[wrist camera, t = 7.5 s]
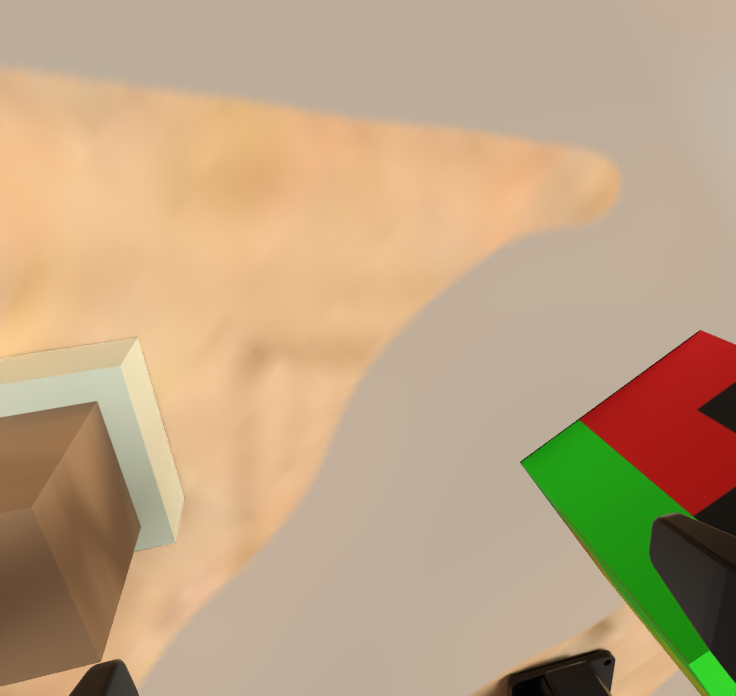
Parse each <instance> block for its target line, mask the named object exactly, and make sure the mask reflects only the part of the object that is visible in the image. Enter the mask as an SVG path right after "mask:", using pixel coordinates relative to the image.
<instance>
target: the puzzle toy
mask: <svg viewBox="0 0 736 696" xmlns="http://www.w3.org/2000/svg"><path fill="white" fill-rule="evenodd" d="M520 463H521V464H522V466H523V467H524V468H525V470H526V471H527V473H528V474H529V475H530V477H531V478H532V479H533V481H534V482H535V483H536V485H537V486H538V487H539V489H540V490H541V491H542V493H543V494H544V495H545V497H546V498H547V499H548V501H549V502H550V503H551V505H552V506H553V507H554V509H555V510H556V511H557V513H558V514H559V516H560V517H561V518H562V520H563V521H564V522H565V523H566V525H567V526H568V527H569V529H570V530H571V532H572V533H573V534H574V536H575V537H576V538H577V540H578V541H579V542H580V544H581V545H582V546H583V548H584V549H585V550H586V552H587V553H588V555H589V556H590V557H591V559H592V560H593V561H594V563H595V564H596V565H597V566H598V568H599V569H600V571H601V572H602V573H603V575H604V576H605V577H606V578H607V580H608V581H609V582H610V583H611V584H612V586H613V587H614V588H615V589H616V591H617V592H618V593H619V594H620V596H621V597H622V598H623V599H624V601H625V602H626V603H627V604H628V605H629V607H630V608H631V609H632V610H633V612H634V613H635V614H636V615H637V617H638V618H639V619H640V620H641V621H642V623H643V624H644V625H645V626H646V628H647V629H648V630H649V631H650V633H651V634H652V635H653V636H654V638H655V639H656V640H657V641H658V642H659V644H660V645H661V646H662V647H663V649H664V650H665V651H666V652H667V654H668V655H669V656H670V657H671V658H672V660H673V661H674V662H675V663H676V665H677V666H678V667H679V668H680V670H681V671H682V672H683V673H684V675H685V676H686V677H687V678H688V679H689V681H690V682H691V683H692V684H693V685H694V687H695V688H696V689H697V691H698V692H699V693H700V694H701V695H702V696H736V684H735V682H734V681H733V680H732V679H731V677H730V676H729V675H728V674H727V672H726V671H725V670H724V669H723V667H722V666H721V665H720V663H719V662H718V661H717V660H716V658H715V657H714V656H713V654H712V653H711V652H710V650H709V649H708V647H707V646H706V645H705V643H704V642H703V640H702V639H701V638H700V636H699V635H698V633H697V632H696V630H695V629H694V627H693V626H692V624H691V622H690V621H689V619H688V618H687V616H686V615H685V613H684V612H683V610H682V609H681V607H680V606H679V604H678V603H677V601H676V600H675V598H674V597H673V595H672V594H671V592H670V591H669V589H668V588H667V586H666V585H665V583H664V582H663V580H662V579H661V577H660V576H659V574H658V573H657V571H656V570H655V568H654V567H653V565H652V563H651V560H650V557H649V545H650V537H651V529H652V523H653V520H654V519H655V518H656V517H659V516H663V515H666V514H670V513H680V514H683V515H686V516H688V517H690V518H693V519H695V520H697V521H700V522H702V523H705V524H707V525H709V526H712V527H714V528H716V529H719V530H721V531H724V532H726V533H728V534H731V535H733V536H735V537H736V345H735V344H733V343H730V342H728V341H725V340H723V339H721V338H718V337H716V336H713V335H711V334H709V333H706V332H704V331H701V330H699V331H698V332H697V333H695V334H694V335H692V336H691V337H690V338H688V339H687V340H686V341H684V342H683V343H681V344H680V345H679V346H677V347H676V348H675V349H673V350H672V351H671V352H669V353H668V354H666V355H665V356H664V357H662V358H661V359H660V360H658V361H657V362H656V363H654V364H653V365H651V366H650V367H649V368H647V369H646V370H645V371H643V372H642V373H640V374H639V375H638V376H636V377H635V378H634V379H632V380H631V381H630V382H628V383H627V384H625V385H624V386H623V387H621V388H620V389H619V390H617V391H616V392H614V393H613V394H612V395H611V396H609V397H608V398H606V399H605V400H604V401H602V402H601V403H599V404H598V405H597V406H595V407H594V408H593V409H591V410H590V411H589V412H587V413H586V414H584V415H583V416H582V417H580V418H579V419H578V420H576V421H575V422H574V423H572V424H571V425H569V426H568V427H567V428H565V429H564V430H563V431H561V432H560V433H558V434H557V435H556V436H555V437H553V438H552V439H550V440H549V441H548V442H546V443H545V444H543V445H542V446H541V447H540V448H538V449H537V450H535V451H534V452H533V453H531V454H530V455H528V456H527V457H526V458H524V459H523V460H522V461H521V462H520Z"/></svg>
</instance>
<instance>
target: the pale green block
mask: <svg viewBox="0 0 736 696" xmlns="http://www.w3.org/2000/svg"><path fill="white" fill-rule="evenodd" d="M94 401H97V402H98V404H99V407H100V410H101V413H102V416H103V419H104V422H105V425H106V428H107V430H108V433H109V436H110V439H111V442H112V445H113V448H114V451H115V453H116V456H117V459H118V462H119V465H120V468H121V471H122V474H123V476H124V479H125V482H126V485H127V488H128V491H129V494H130V497H131V499H132V502H133V505H134V508H135V511H136V514H137V517H138V520H139V522H140V525H141V529H140V532H139V536H138V539H137V542H136V546H135V549H134V552H135V551H139V550H144V549H149V548H153V547H158V546H163V545H167V544H172V543H176V538H177V533H178V528H179V523H180V518H181V513H182V508H183V503H184V495H183V491H182V488H181V484H180V481H179V478H178V474H177V471H176V467H175V464H174V460H173V457H172V453H171V450H170V446H169V443H168V440H167V436H166V433H165V429H164V426H163V422H162V419H161V415H160V412H159V408H158V405H157V402H156V398H155V395H154V391H153V388H152V384H151V381H150V377H149V374H148V371H147V367H146V364H145V360H144V357H143V353H142V350H141V346H140V343H139V339H138V337H135V338H129V339H122V340H115V341H109V342H102V343H95V344H89V345H82V346H75V347H69V348H62V349H55V350H49V351H42V352H35V353H29V354H22V355H15V356H9V357H2V358H0V417H6V416H12V415H17V414H23V413H29V412H35V411H41V410H47V409H53V408H58V407H64V406H70V405H76V404H82V403H88V402H94Z"/></svg>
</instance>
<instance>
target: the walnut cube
mask: <svg viewBox="0 0 736 696" xmlns="http://www.w3.org/2000/svg"><path fill="white" fill-rule="evenodd" d="M140 529H141V525H140V522H139V520H138V517H137V514H136V511H135V508H134V505H133V502H132V499H131V497H130V494H129V491H128V488H127V485H126V482H125V479H124V476H123V474H122V471H121V468H120V465H119V462H118V459H117V456H116V453H115V451H114V448H113V445H112V442H111V439H110V436H109V433H108V430H107V428H106V425H105V422H104V419H103V416H102V413H101V410H100V407H99V404H98V402H97V401H94V402H88V403H82V404H76V405H70V406H64V407H58V408H53V409H47V410H41V411H35V412H29V413H23V414H17V415H12V416H6V417H0V686H5V685H9V684H13V683H17V682H21V681H25V680H29V679H33V678H37V677H41V676H45V675H49V674H53V673H57V672H61V671H65V670H70V669H74V668H78V667H82V666H86V665H90V664H94V663H98V662H101V660H102V656H103V653H104V650H105V646H106V643H107V640H108V636H109V633H110V629H111V626H112V623H113V619H114V616H115V613H116V609H117V606H118V603H119V599H120V596H121V593H122V589H123V586H124V583H125V579H126V576H127V573H128V569H129V566H130V563H131V559H132V556H133V553H134V549H135V546H136V542H137V539H138V536H139V532H140Z"/></svg>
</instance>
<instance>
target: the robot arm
mask: <svg viewBox="0 0 736 696" xmlns="http://www.w3.org/2000/svg"><path fill="white" fill-rule="evenodd" d="M649 557H650V560H651V563H652V565H653V567H654V568H655V570H656V571H657V573H658V574H659V576H660V577H661V579H662V580H663V582H664V583H665V585H666V586H667V588H668V589H669V591H670V592H671V594H672V595H673V597H674V598H675V600H676V601H677V603H678V604H679V606H680V607H681V609H682V610H683V612H684V613H685V615H686V616H687V618H688V619H689V621H690V622H691V624H692V626H693V627H694V629H695V630H696V632H697V633H698V635H699V636H700V638H701V639H702V640H703V642H704V643H705V645H706V646H707V647H708V649H709V650H710V652H711V653H712V654H713V656H714V657H715V658H716V660H717V661H718V662H719V663H720V665H721V666H722V667H723V669H724V670H725V671H726V672H727V674H728V675H729V676H730V677H731V679H732V680H733V681H734V682H735V684H736V537H735V536H733V535H731V534H728V533H726V532H724V531H721V530H719V529H716V528H714V527H712V526H709V525H707V524H705V523H702V522H700V521H697V520H695V519H693V518H690V517H688V516H686V515H683V514H680V513H670V514H666V515H663V516H659V517H656V518H655V519H654V520H653V523H652V529H651V537H650V545H649ZM614 665H615V658H614V656H613V655H612V653H611V652H610V651H609V650H604V651H600V652H597V653H593V654H590V655H586V656H583V657H579V658H575V659H572V660H568V661H565V662H561V663H558V664H554V665H551V666H547V667H543V668H540V669H536V670H533V671H529V672H526V673H522V674H518V675H516V676H513V677H512V678H511V679H510V680H509V685H508V696H612V695H611V693H610V691H611V685H612V678H613V672H614ZM69 696H139V694H138V691H137V689H136V687H135V685H134V682H133V680H132V678H131V676H130V674H129V672H128V669H127V667H126V665H125V663H124V662H123V661H122V660H120V659H116V660H112V661H108V662H104V663H100V664H97V665H94V666H93V667H91V668H90V669H89V670H88V671H87V672H86V674H85V675H84V676H83V678H82V679H81V680H80V682H79V683H78V684H77V686H76V687H75V688H74V690H73V691H72V692H71V694H70V695H69Z"/></svg>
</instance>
